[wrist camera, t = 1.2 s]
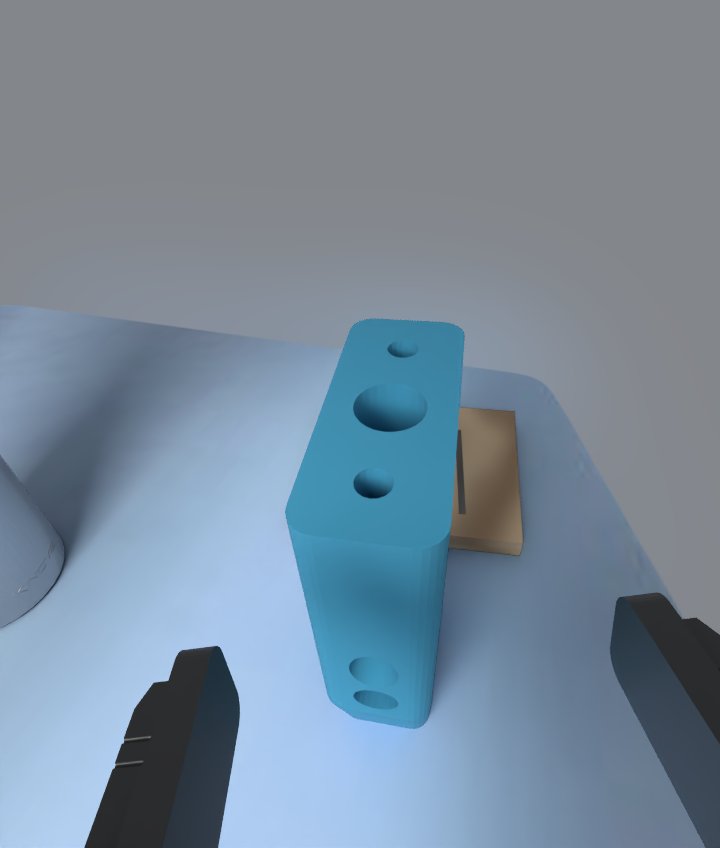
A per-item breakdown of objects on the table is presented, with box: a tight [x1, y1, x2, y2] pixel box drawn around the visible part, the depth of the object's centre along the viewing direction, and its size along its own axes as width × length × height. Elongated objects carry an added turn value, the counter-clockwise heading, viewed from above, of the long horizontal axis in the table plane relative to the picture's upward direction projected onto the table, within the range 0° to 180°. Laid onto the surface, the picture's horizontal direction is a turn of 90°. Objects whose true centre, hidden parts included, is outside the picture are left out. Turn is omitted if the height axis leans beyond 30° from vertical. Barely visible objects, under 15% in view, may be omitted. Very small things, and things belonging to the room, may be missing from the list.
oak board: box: [449, 407, 523, 556], centre depth 43 cm, size 17×14×2 cm
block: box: [285, 319, 464, 729], centre depth 26 cm, size 12×5×20 cm, turn 170°
